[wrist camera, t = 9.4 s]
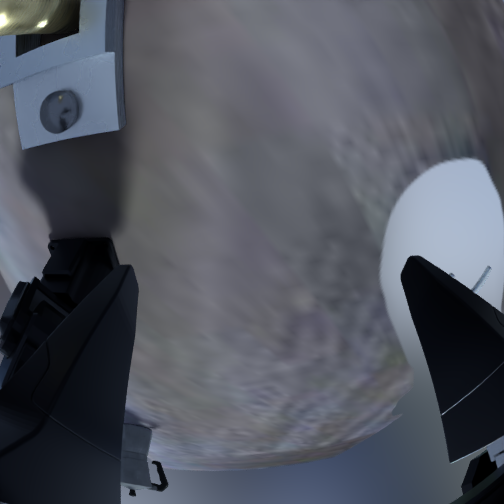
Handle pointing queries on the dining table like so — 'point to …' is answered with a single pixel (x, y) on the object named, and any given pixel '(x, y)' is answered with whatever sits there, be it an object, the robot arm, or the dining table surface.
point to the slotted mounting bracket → (68, 77)
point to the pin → (39, 16)
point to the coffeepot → (138, 460)
